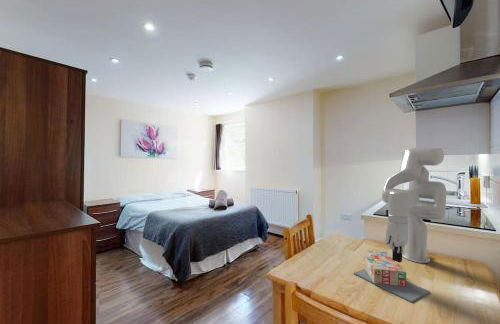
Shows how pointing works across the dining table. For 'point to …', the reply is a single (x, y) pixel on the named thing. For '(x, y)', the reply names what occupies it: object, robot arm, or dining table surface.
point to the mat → (398, 288)
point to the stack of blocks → (384, 269)
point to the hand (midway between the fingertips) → (397, 260)
